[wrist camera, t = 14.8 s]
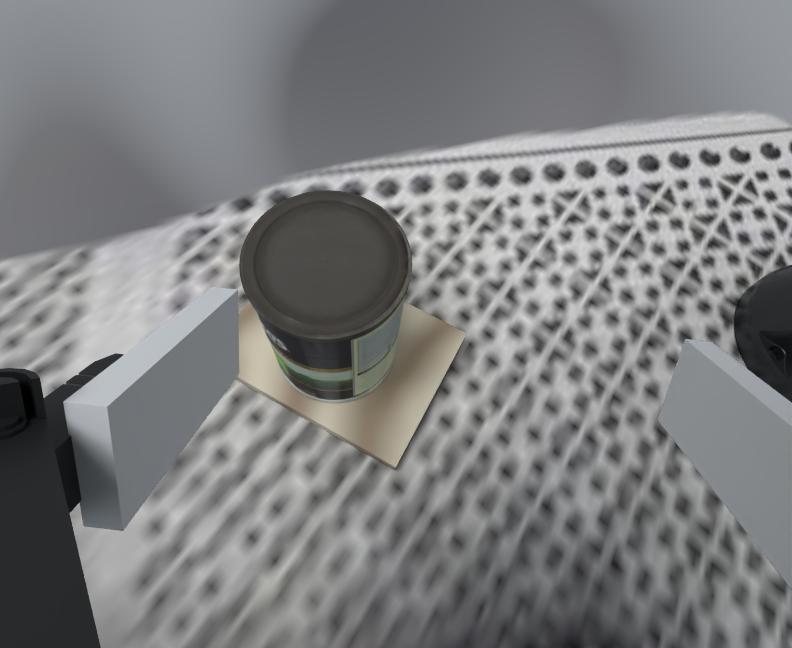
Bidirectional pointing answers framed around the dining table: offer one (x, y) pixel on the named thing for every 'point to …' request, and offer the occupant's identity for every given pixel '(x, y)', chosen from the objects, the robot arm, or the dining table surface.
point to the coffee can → (328, 290)
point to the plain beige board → (378, 410)
